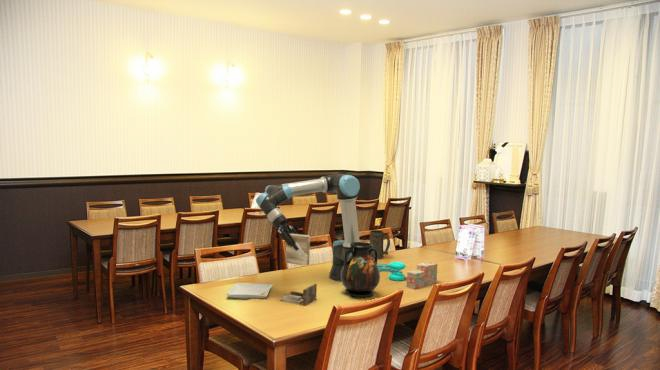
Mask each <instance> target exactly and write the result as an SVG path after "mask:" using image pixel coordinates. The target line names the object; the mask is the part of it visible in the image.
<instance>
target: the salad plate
mask: <svg viewBox="0 0 660 370" xmlns="http://www.w3.org/2000/svg"><path fill="white" fill-rule="evenodd" d="M273 286H274V285H273V284H269V283H267V284H266V283H248V282H247V283H245V282H244V283H242V282H236V283H234V284H233V285H232V287H231V288H230V289H229V290H228V292H226V295H227V296H228V297H229V298H234V299H239V300H240V299H241V300H242V299H243V300H244V299H245V300H251V299H265V298H267V297H268V295H269V292H270V291H271V290H272V288H273ZM262 294H263V295H262Z"/></svg>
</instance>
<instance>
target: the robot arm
mask: <svg viewBox="0 0 660 370" xmlns="http://www.w3.org/2000/svg"><path fill="white" fill-rule="evenodd" d="M360 188H361V184H360V181H359V180H358V178H356V177H355V176H354V175H350V174H343V173H334V174H329V175H324V176H321V177H320V178H318V179H317V178H315V179H308V180H302V181H295V182H290V183H289V182H288V183H282V184H275V185H274V184H270V185H267V186H266V187H265V189H264V192H263V193H261V194H259V195H258V196H257V197H256V199H255V202H256V204H257V206H258V207H259V208H260V210H261V211H262V212H263V214H264V215H265V216H266V218H267V219H268V221H270V223H272V225H273V227H274V228H275V229H278V230H276V233H277V234H278V235H280V237H281V238H282V239H283V241H284V242H285V244H286V243H287V244H288V245H289V246H290V245H291V246H290V247H292V246H293V248H294V249H295V250H296V252H297V253H298V254H299V255H300V256H301V255H303V254H304V252H303V251H302V249H301V248H300V247H299V245H298V244H297V243H296V244H295V241H294V240H293V238H292V237H291V235H290V233H291V234H299V233H298V232H297V230H296V229H295V227H294V225H290V224H289V223H288V222H287V221H288V219H287V217H286V216H285V215H284V214H283V212H282V211H281V209H279V207H278V206H279V205H281V204H282V203H284V202H286V201H287V200H289V199H290V198H292V197H295V196H300V195H307V194H308V195H309V194H313V193H314V194H315V193H320V192H322V193H324V194H325V193H334V194H336V197H337V201H339V202H340V209H341V219H342V226H343V227H342V228H343V235H344V238H343V239H344V240H340V239H339V240H334V241H333V243H332V263H331V264H332V266H331V268H330V271H329V275H328V277H329V279H330V280H333V281H339V282H341V270H342V267H343V265H344V254H345V251H346V250H347V249H351V250H352V251H353V248H352V247H350V243H353V242H362V241H361V240H360V233H359V232H360V231H359V223H358V213H357V206H356V200H357V198H358V194H359V192H360ZM351 255H352V253H351V251H350V252H348V253H347V259H348V258H349V257H350V256H351Z"/></svg>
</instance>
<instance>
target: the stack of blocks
mask: <svg viewBox="0 0 660 370" xmlns="http://www.w3.org/2000/svg"><path fill="white" fill-rule="evenodd" d="M406 273H407V274H406V288H409V289H411V290H419V289H421V288H425V287H429V286H432V284H433V285H436V284H437V279H438V263H435V262H430V261H426V262H422V263H418V264H416V269H414V270H410V271H409V270H408V271H407V272H406ZM435 283H436V284H435Z"/></svg>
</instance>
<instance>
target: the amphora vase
mask: <svg viewBox="0 0 660 370" xmlns="http://www.w3.org/2000/svg"><path fill="white" fill-rule="evenodd" d="M350 247H352V248H353V251H352V250H351V249H347V250H346V251H345V254H344V265H343V267H342V270H341V281H340V282H341V283H342V285H343V287H344V288H345V289H344V294H345V295H347V296H349V297H350V298H352V299H353V298H355V299H368V298H372V297H374V295H375V289H376V288H377V287H378V285H380V281H381V280H380V279H381V271H380V272H379V269H378V266H377V264H378V259H377V258H378V254H377V251H376V249H374V248H372V247H373V245H372V244H371V243H370V242H366V241H361V242H353V243H350ZM370 248H372V249H370ZM350 251H351V253H352V255H351V256H350V257H349V258H348V259H347V253H348V252H350ZM372 251H374V252H375V259H373V258H372V257H371V256H370V255H371V252H372Z"/></svg>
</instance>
